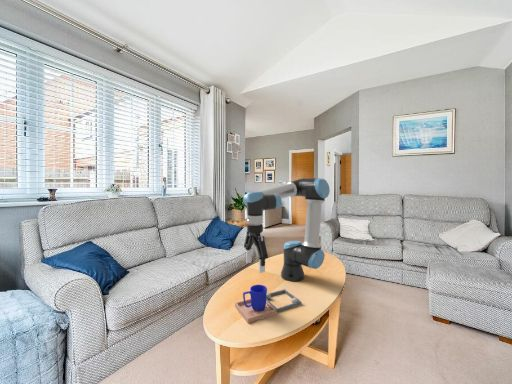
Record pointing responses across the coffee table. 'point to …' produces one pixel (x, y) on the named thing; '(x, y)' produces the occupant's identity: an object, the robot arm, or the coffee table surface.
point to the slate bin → (286, 305)
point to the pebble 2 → (294, 300)
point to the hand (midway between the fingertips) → (255, 267)
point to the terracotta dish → (254, 311)
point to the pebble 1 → (268, 296)
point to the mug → (257, 297)
